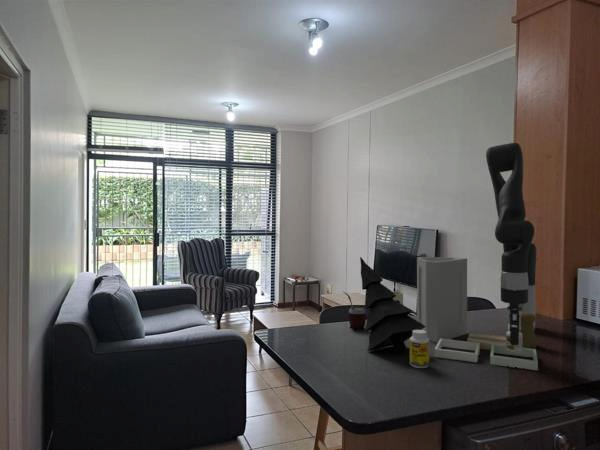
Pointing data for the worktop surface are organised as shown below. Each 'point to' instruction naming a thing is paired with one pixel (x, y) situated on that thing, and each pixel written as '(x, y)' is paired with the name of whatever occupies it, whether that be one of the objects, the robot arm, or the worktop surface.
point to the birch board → (486, 340)
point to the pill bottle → (513, 347)
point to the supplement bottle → (419, 349)
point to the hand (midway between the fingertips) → (514, 342)
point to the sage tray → (514, 361)
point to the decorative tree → (385, 314)
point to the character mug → (398, 297)
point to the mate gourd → (356, 316)
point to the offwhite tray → (457, 354)
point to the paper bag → (442, 296)
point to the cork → (528, 330)
